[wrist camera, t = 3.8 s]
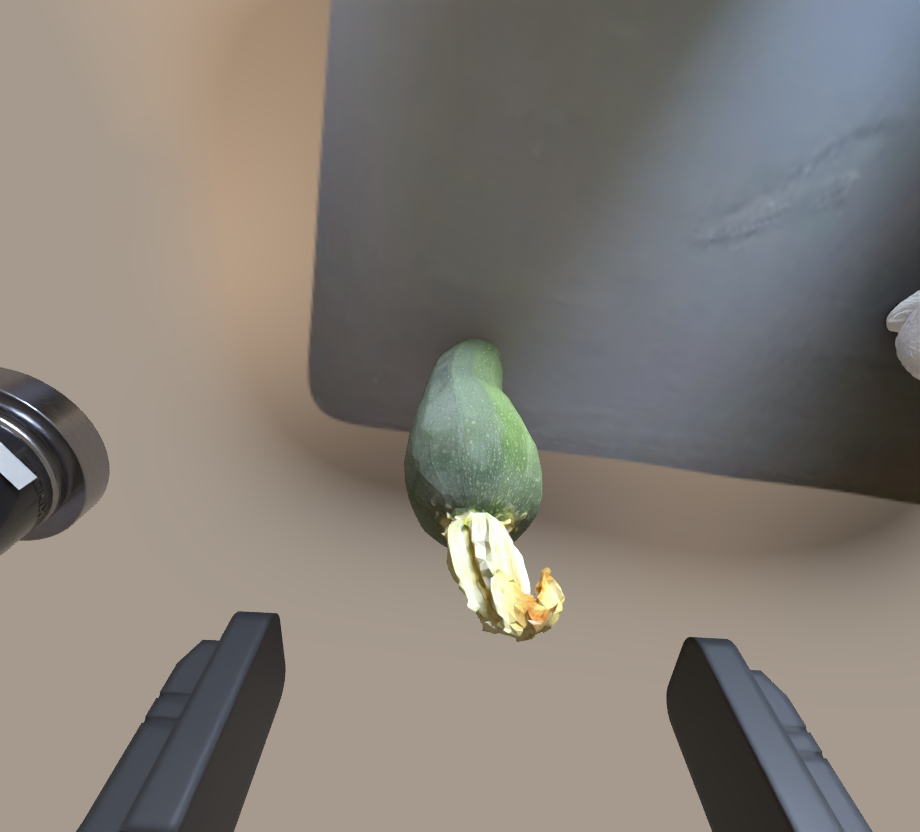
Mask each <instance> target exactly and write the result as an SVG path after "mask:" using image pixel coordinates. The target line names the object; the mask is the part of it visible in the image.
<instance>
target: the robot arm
mask: <svg viewBox="0 0 920 832" xmlns="http://www.w3.org/2000/svg"><path fill="white" fill-rule="evenodd" d="M65 489H66V487H65V477H64V473H63V470H62V467H61V465H60V463H59V461H58V459H57V457H56V455H55V454H54V452H53V451H52V449H51V448H50V446H49V445H48V444H47V443H46V442H45V441H44V439H43V438H42V437H41V436H40V435H39V434H38V433H36V432H35V431H34V430H33V429H32V428H31V427H29V426H28V425H27V424H25V423H24V422H22V421H21V420H19V419H18V418H16V417H15V416H13V415H11V414H9V413H7V412H5V411H3V410H1V409H0V555H2V554H3V553H4V552H5V551H7V550H8V549H9V548H10V547H11V546H13V545H14V544H15V543H16V542H18V541H19V540H20V539H21V538H23V537H24V536H25V535H26V534H28V533H29V532H30V531H31V530H33V529H35V528H37V527H39V526H40V525H41V524H43V523H44V522H45V521H46V520H47V519H49V518H50V517H51V516H52V515H53V514H55V513H56V511H57V510H58V509H59V508H60V506H61V504H62V502H63V500H64V496H65ZM282 642H283V641H282V633H281V625H280V618H279V615H278V614H277V613H260V612H242V611H241V612H237V613H235V614H234V616H233V617H232V619H231V620H230V622H229V624H228V626H227V628H226V630H225V631H224V633H223V635H222V637H221V639H220V641H216V640H202V641H201V642H200V643H199V644H198V645H197V646H196V647H194V648H193V649H192V650H191V651H190V652H189V653H188V654H187V655H186V656H185V657H184V658H182V659H181V660H180V661H179V662H178V663H177V664H176V666H175V668H174V670H173V671H172V673H171V675H170V676H169V678H168V680H167V681H166V683H165V685H164V686H163V688H162V690H161V692H160V696H159V698H156V700H155V702H154V703H153V705H152V706H151V708H150V710H149V711H148V713H147V715H146V718H145V721H144V723H141V725H140V727H139V728H138V730H137V732H136V733H135V735H134V737H133V738H132V740H131V742H130V744H129V745H128V747H127V749H126V750H125V752H124V754H123V755H122V757H121V758H120V760H119V762H118V764H117V765H116V767H115V769H114V770H113V772H112V774H111V775H110V777H109V779H108V780H107V782H106V784H105V785H104V787H103V789H102V790H101V792H100V794H99V795H98V797H97V799H96V800H95V802H94V804H93V806H92V807H91V809H90V811H89V812H88V814H87V816H86V817H85V819H84V821H83V822H82V824H81V825H80V827H79V828H78V830H77V831H76V832H234V829H235V827H236V824H237V821H238V818H239V815H240V812H241V810H242V807H243V804H244V801H245V798H246V796H247V793H248V790H249V787H250V784H251V781H252V779H253V776H254V773H255V770H256V767H257V765H258V762H259V759H260V756H261V753H262V750H263V747H264V745H265V742H266V739H267V736H268V733H269V731H270V728H271V725H272V722H273V719H274V717H275V714H276V711H277V708H278V705H279V702H280V699H281V696H282V692H283V687H284V681H285V658H284V651H283V643H282ZM667 709H668V715H669V719H670V722H671V725H672V727H673V730H674V733H675V735H676V738H677V741H678V743H679V746H680V748H681V751H682V754H683V756H684V759H685V762H686V764H687V767H688V769H689V772H690V774H691V777H692V780H693V782H694V785H695V788H696V790H697V793H698V795H699V798H700V800H701V803H702V806H703V808H704V811H705V814H706V816H707V819H708V822H709V824H710V827H711V829H712V832H872V830H871V829H870V827H869V825H868V824H867V822H866V821H865V819H864V818H863V816H862V814H861V813H860V812H859V810H858V808H857V806H856V805H855V803H854V802H853V800H852V798H851V797H850V795H849V794H848V792H847V791H846V789H845V787H844V786H843V784H842V783H841V781H840V779H839V778H838V776H837V775H836V773H835V771H834V770H833V768H832V767H831V765H830V763H829V762H828V760H827V759H825V758H823V756H822V751H821V749H820V748H819V746H818V744H817V743H816V741H815V740H814V738H813V736H812V735H811V733H808V732H807V730H806V725H805V724H804V722H803V721H802V719H801V718H800V716H799V714H798V713H797V711H796V709H795V708H794V706H793V705H792V703H791V702H790V700H789V699H788V697H787V696H786V695H785V694H784V693H783V692H782V691H781V690H780V689H779V688H778V687H777V686H776V685H775V684H774V683H773V682H772V681H771V680H770V679H769V678H768V677H767V676H766V675H765V674H763V672H761V671H756V670H750V669H749V668H748V666H747V664H746V662H745V661H744V659H743V657H742V656H741V654H740V652H739V651H738V649H737V647H736V646H735V645H734V644H733V643H732V642H731V641H730V640H728V639H716V638H697V637H689V638H687V639H686V640H685V641H684V643H683V646H682V649H681V652H680V654H679V657H678V660H677V663H676V665H675V668H674V671H673V674H672V676H671V679H670V682H669V685H668V689H667Z"/></svg>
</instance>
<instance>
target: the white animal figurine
mask: <svg viewBox="0 0 920 832" xmlns="http://www.w3.org/2000/svg"><path fill="white" fill-rule="evenodd" d="M886 325H887V329H888V330H889V331H893V332H899V333H898V336H897V337H896V341H895V347H896V350H897V351H896V352H897V356H898V359H899V360H900V361H901V363H902V366H904V367H905V368H906V370H907V371H908V372H910V373H911V374H912V376H913V377H915V378H917V379H918V380H920V290H918V291H917V292H916V293H914V294H913V295H911V296H909V297H908V298H907V299H906V300H904V301H902V302H900V303H899V304H898V305H897V306H896V307H895V308H894V309H893V310H892V311H891V312H890V314H889V315H888V316H887V320H886Z"/></svg>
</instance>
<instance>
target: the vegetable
mask: <svg viewBox="0 0 920 832" xmlns="http://www.w3.org/2000/svg"><path fill="white" fill-rule="evenodd" d="M503 375H504V368H503V364H502V360H501V356H500V353H499V351H498V349H497V348H496V347H495V346H493V345H492V344H490V343H488V342H487V341H484V340H481V339H474V338H469V339H465V340H463V341H462V342H460V343H458V344H456V345H454V346H453V347H451V348H450V349H448V350H447V351H446V352H444V353H443V354H442V355H441V356H440V358H439V359H438V360H437V362H436V364H435V366H434V368H433V371H432V373H431V375H430V377H429V379H428V382H427V384H426V388H425V390H424V393H423V395H422V398H421V400H420V402H419V405H418V407H417V411H416V414H415V418H414V421H413V424H412V426H411V430H410V435H409V440H408V446H407V451H406V456H405V461H404V462H405V463H404V464H405V482H406V487H407V492H408V497H409V500H410V503H411V505H412V508H413V510H414V513H415V515H416V517H417V519H418V521H419V523H420V525H421V527H422V528H423V529H424V531H425V532H426V533H428V534H429V535H430V536H431V537H432V538H434V539H435V540H436V541H438V542H439V543H440V544H442V545H444V546H445V547H447V548H448V555H447V565H448V568H449V571H450V573H451V575H452V577H453V579H454V580H455V581H456V583H457V584H458V585H459V589H460V590H461V591H462V592H463V593H464V594H465V595H466V596H467V598H468V605H467V607H469V608H470V609H471V610H473V611H475V612H476V614H477V616H478V618H479V619H480V621H481V623H482V624H483V631H486V632H491V633H493V634H496V633H501V634H505V635H509V636H511V637H515V638H516V641H517V642H519V641H525V640H529V639H532V638H533V637H534V636H535V634H537V633H540V632H543V633H544V632H546V631H547V630H549V629H551V626H552V625H553V624H554V623H556V621H558V618H559V615H560V613H561V612H562V610H563V608H562V604H563V602H564V600H565V597H564V595H563V593H562V592H561V588H560V587H559V585H558V584H557V583H556V581H555V580H554V579H553V578H552V577H551V576H550V573H551V569H549V568H548V567H546V568H545V569H543V570H542V574H541V579H540V581H539V582H538V583H537V585H536V586H535V594H539V595H538V597H537V599H534V597H533V595H530V583H529V579H528V575H527V572H526V569H525V565H524V561H523V557H522V555H521V554H520V552H519V551H518V549H517V548H516V547H515V546H514V545H513V542H514V541H516V540H517V539H518V538H519V537H520V536H521V535H522V534H523V532H525V531H526V529H527V528H528V527H529V525H530V524H531V523H532V521H533V519H534V518H535V517H536V514H537V511H538V508H539V505H540V502H541V500H542V497H543V493H542V470H541V465H540V461H539V456H538V452H537V448H536V445H535V443H534V441H533V439H532V438H531V436H530V434H529V432H528V430H527V428H526V426H525V425H524V423H523V421H522V419H521V417H520V416H519V414H518V413H517V411H516V410H515V408H514V407H513V405H512V403H511V401H510V400H509V398H508V397H507V396H506V395H505V394H504V393H503V392H502V387H503Z"/></svg>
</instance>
